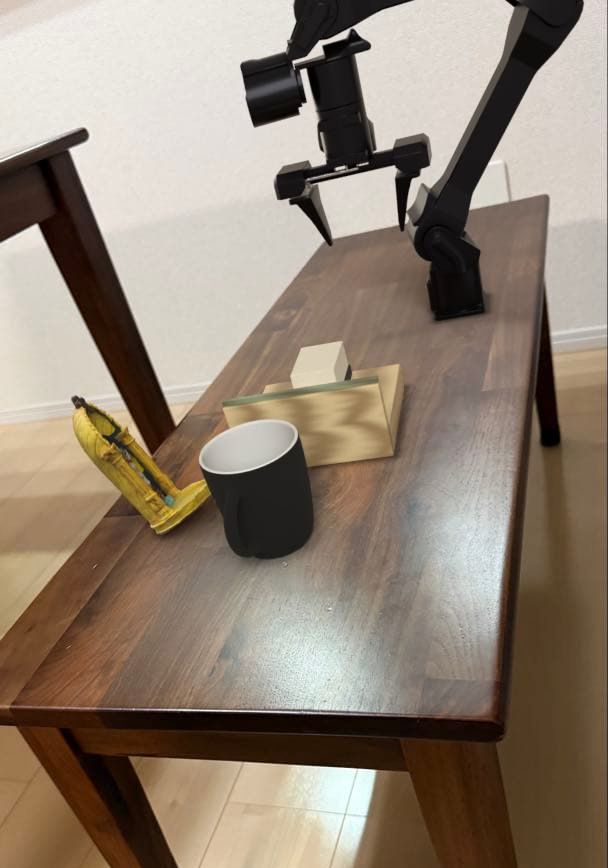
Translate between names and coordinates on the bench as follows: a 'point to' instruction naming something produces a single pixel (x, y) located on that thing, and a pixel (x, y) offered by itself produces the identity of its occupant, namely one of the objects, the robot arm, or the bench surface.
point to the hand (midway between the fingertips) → (366, 238)
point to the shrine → (134, 469)
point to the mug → (260, 487)
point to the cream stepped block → (321, 365)
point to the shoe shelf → (332, 414)
